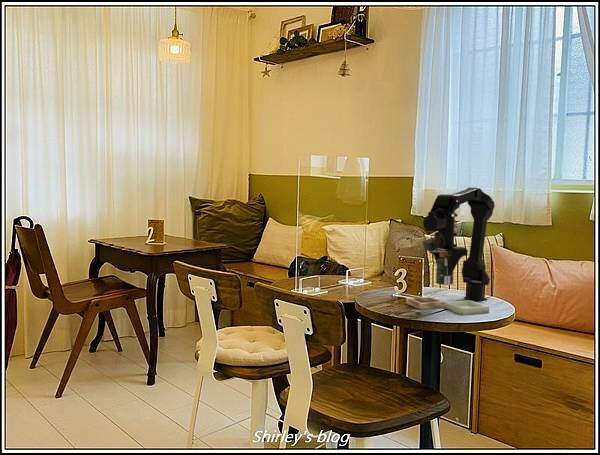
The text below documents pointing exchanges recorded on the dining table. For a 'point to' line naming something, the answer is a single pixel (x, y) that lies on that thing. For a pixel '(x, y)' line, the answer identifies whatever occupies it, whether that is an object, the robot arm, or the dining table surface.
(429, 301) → the socket collar
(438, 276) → the pill bottle
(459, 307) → the tray
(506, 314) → the dining table surface
